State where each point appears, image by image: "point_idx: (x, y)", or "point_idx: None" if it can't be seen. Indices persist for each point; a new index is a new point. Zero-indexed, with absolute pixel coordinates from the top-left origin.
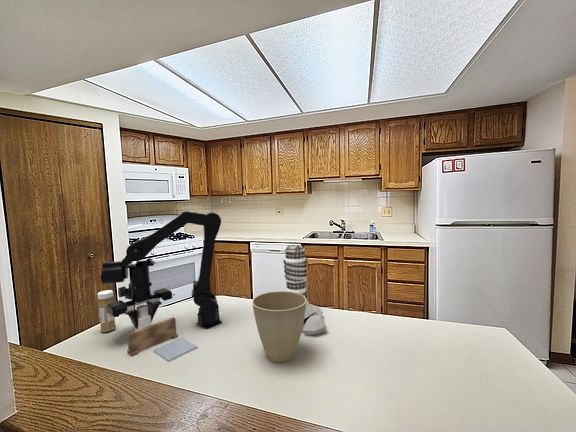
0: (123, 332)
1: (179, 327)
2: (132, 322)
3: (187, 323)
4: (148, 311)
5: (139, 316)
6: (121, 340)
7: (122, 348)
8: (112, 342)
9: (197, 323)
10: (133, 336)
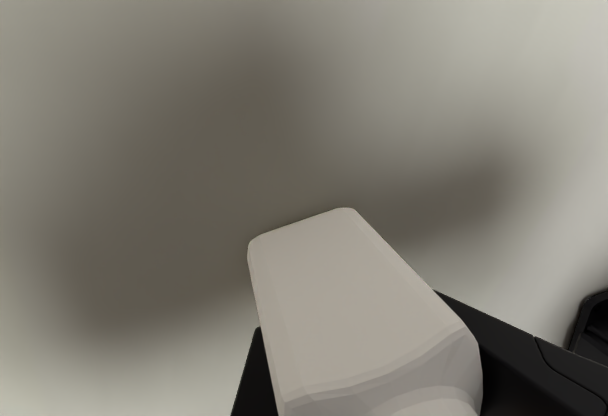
0: (128, 62)
1: (515, 284)
2: (237, 405)
3: (574, 254)
4: (526, 410)
5: None
6: (112, 269)
7: (127, 399)
8: (14, 265)
9: (589, 315)
10: None
